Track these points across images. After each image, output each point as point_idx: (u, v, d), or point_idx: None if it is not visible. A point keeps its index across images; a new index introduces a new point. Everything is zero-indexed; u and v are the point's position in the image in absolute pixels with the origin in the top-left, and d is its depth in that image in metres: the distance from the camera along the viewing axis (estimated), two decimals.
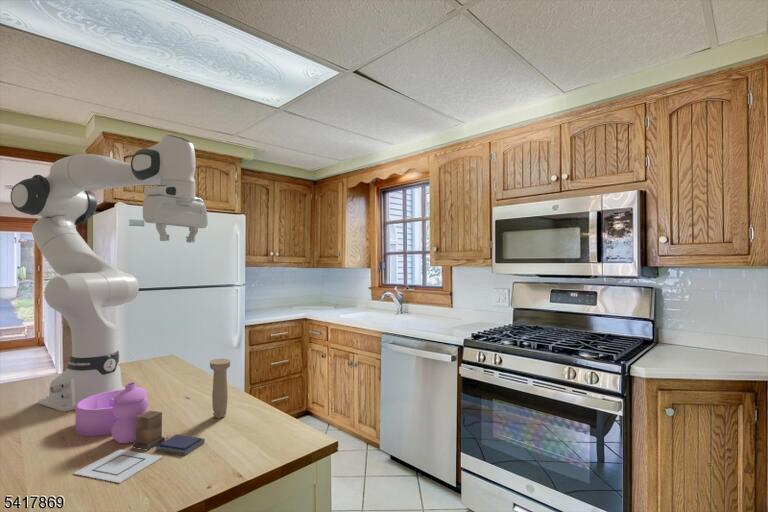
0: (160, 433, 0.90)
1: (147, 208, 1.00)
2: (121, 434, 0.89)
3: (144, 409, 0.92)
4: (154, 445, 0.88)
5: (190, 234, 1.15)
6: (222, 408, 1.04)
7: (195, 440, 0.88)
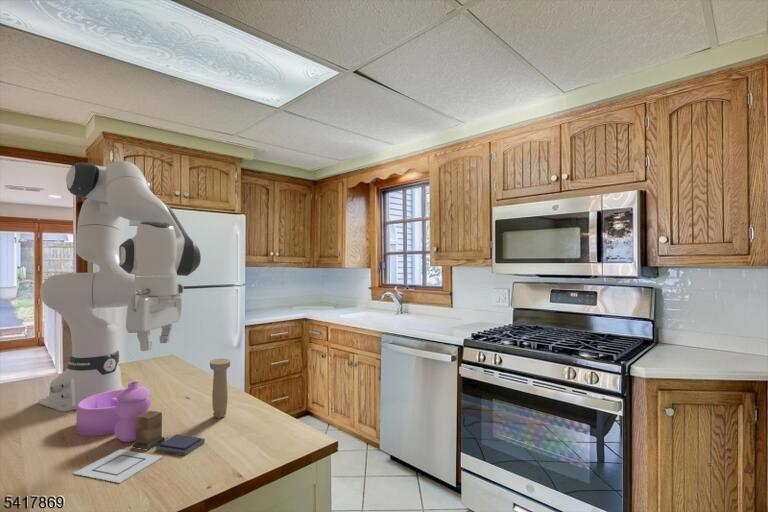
0: (160, 433, 0.90)
1: None
2: (124, 433, 0.89)
3: (147, 408, 0.93)
4: (154, 445, 0.88)
5: None
6: (222, 408, 1.04)
7: (195, 440, 0.88)
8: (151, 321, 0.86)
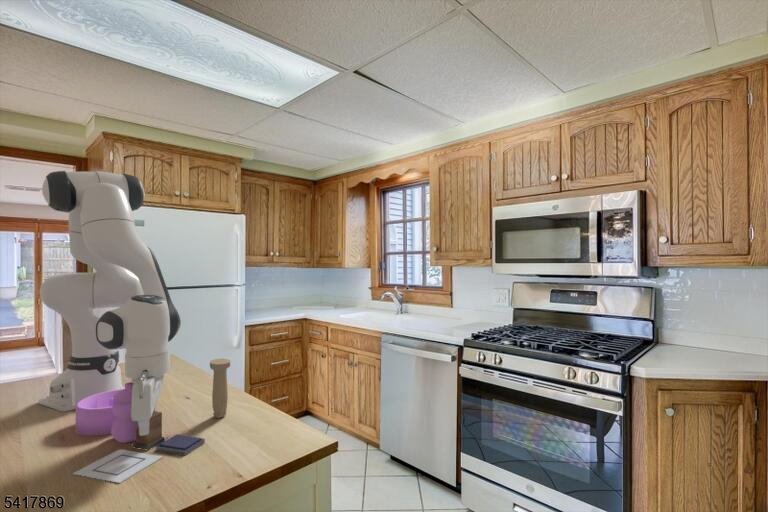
0: (160, 433, 0.90)
1: None
2: (120, 434, 0.89)
3: None
4: (154, 445, 0.88)
5: None
6: (222, 408, 1.04)
7: (195, 440, 0.88)
8: (153, 404, 0.84)
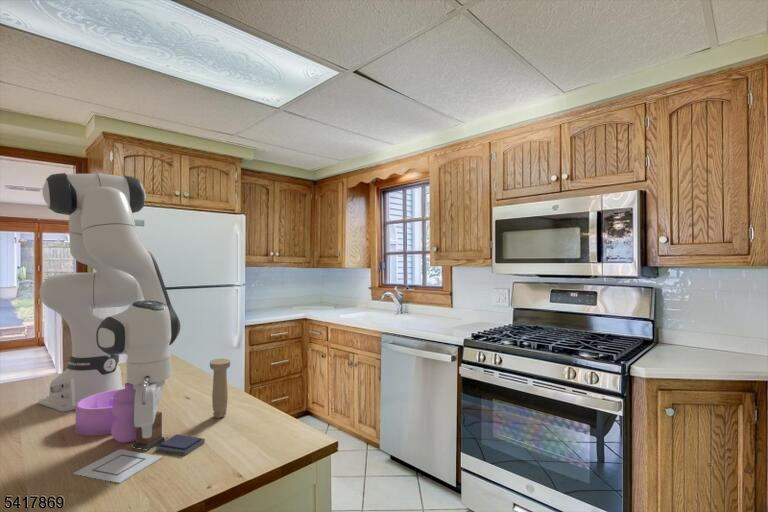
0: (160, 433, 0.90)
1: None
2: (120, 434, 0.89)
3: None
4: (154, 445, 0.88)
5: None
6: (222, 408, 1.04)
7: (195, 440, 0.88)
8: (155, 410, 0.84)
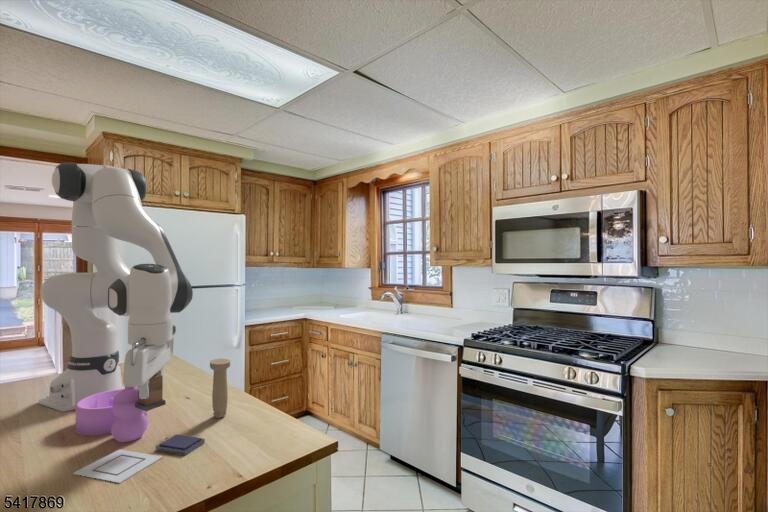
0: (161, 396, 0.90)
1: None
2: (120, 433, 0.89)
3: None
4: (153, 407, 0.88)
5: None
6: (222, 408, 1.04)
7: (195, 440, 0.88)
8: (148, 372, 0.84)
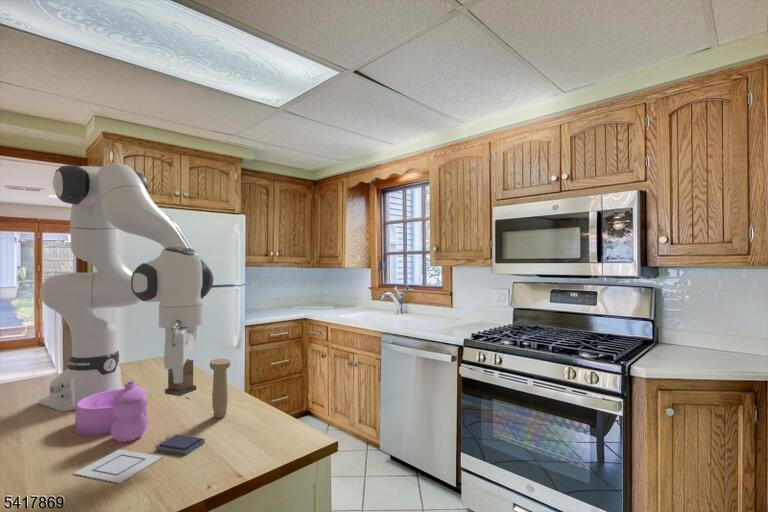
0: (191, 381, 0.89)
1: None
2: (120, 433, 0.89)
3: (143, 408, 0.93)
4: (185, 391, 0.87)
5: None
6: (222, 408, 1.04)
7: (195, 440, 0.88)
8: (185, 354, 0.83)
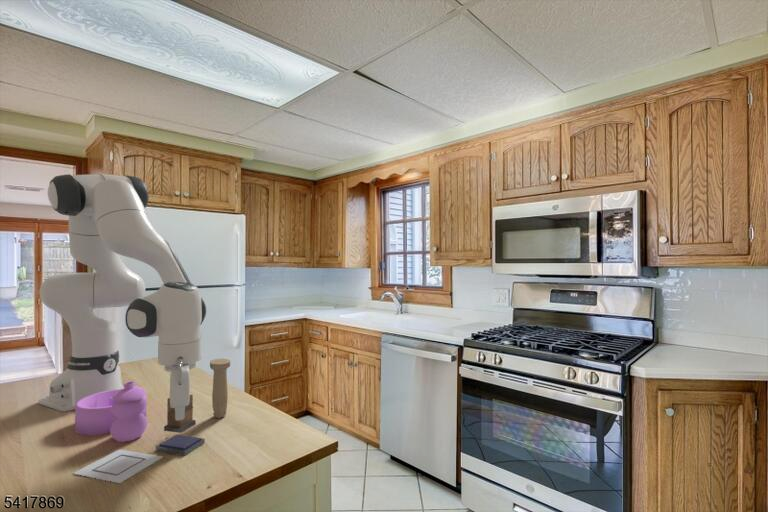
0: (191, 416, 0.89)
1: None
2: (119, 433, 0.89)
3: (143, 408, 0.93)
4: (186, 427, 0.87)
5: None
6: (222, 408, 1.04)
7: (195, 440, 0.88)
8: None
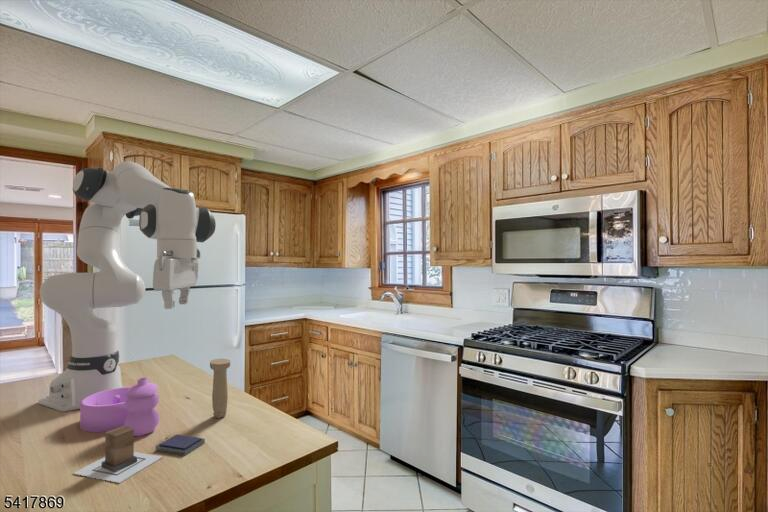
0: (131, 452, 0.81)
1: None
2: (135, 427, 0.93)
3: (156, 403, 0.96)
4: (122, 466, 0.78)
5: None
6: (222, 408, 1.04)
7: (195, 440, 0.88)
8: (175, 281, 0.91)
